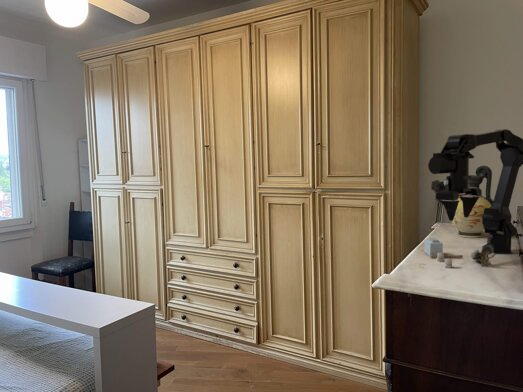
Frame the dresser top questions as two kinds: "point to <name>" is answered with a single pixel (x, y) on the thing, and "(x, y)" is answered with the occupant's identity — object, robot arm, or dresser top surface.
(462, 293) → the dresser top surface
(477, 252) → the eagle figurine
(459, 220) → the amphora
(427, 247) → the block
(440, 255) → the pin seat fixture
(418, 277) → the dresser top surface
